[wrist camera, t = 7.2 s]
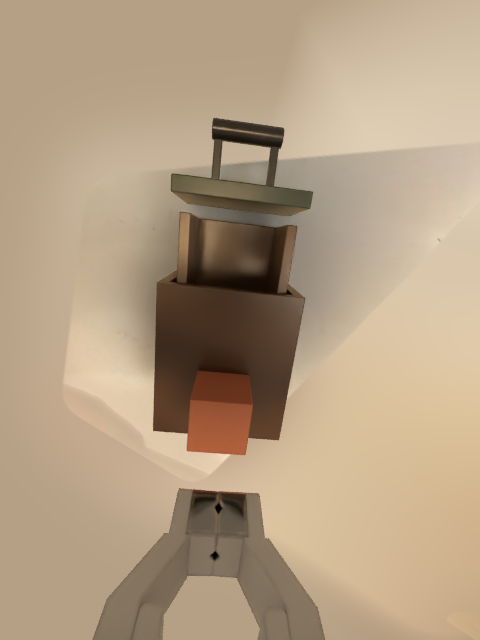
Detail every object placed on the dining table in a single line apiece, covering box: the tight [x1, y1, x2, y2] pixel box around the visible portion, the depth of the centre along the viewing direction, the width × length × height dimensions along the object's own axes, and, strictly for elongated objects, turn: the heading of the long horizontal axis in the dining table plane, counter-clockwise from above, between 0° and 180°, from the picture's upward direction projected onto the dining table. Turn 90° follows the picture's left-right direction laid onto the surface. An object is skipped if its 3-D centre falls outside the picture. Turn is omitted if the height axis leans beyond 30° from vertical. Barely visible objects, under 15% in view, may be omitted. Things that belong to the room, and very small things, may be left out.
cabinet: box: [153, 271, 305, 440], centre depth 28 cm, size 14×12×10 cm
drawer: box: [171, 118, 313, 294], centre depth 25 cm, size 17×10×8 cm, turn 174°
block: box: [187, 371, 253, 455], centre depth 22 cm, size 4×4×4 cm
